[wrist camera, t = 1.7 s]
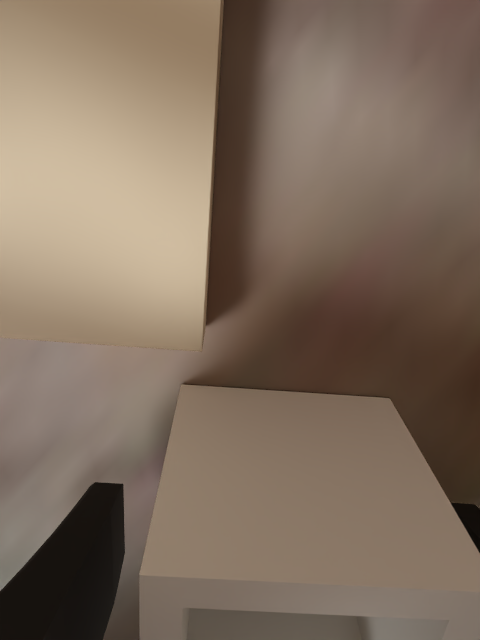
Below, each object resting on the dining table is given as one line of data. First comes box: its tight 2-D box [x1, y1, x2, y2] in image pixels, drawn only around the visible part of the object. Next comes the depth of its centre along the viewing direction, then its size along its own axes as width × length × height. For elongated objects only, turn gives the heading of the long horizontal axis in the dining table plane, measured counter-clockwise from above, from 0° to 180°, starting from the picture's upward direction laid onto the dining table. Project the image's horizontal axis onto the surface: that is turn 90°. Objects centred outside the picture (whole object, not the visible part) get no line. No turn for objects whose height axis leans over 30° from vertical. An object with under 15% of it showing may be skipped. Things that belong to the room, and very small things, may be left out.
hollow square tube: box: [139, 384, 480, 640], centre depth 9 cm, size 5×5×5 cm
